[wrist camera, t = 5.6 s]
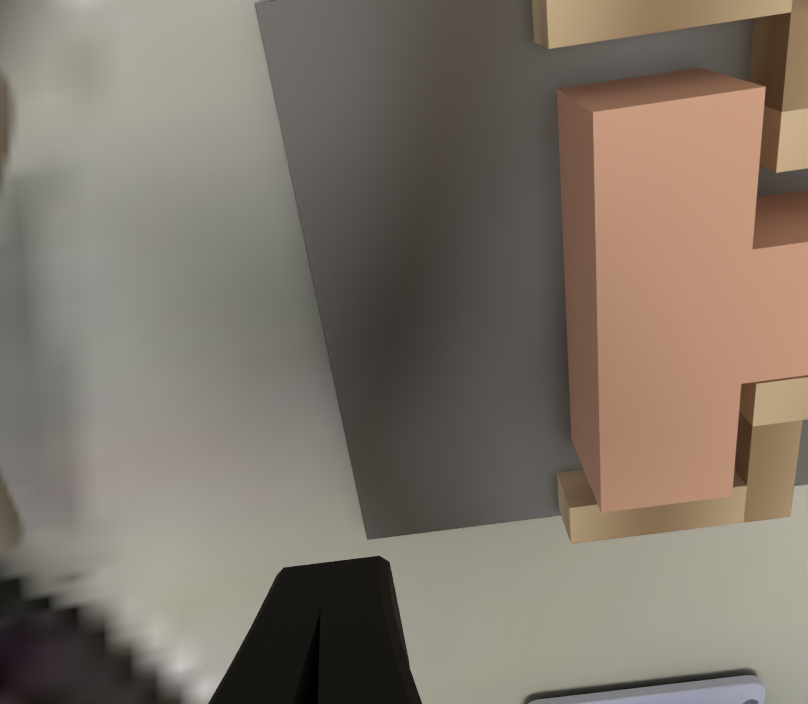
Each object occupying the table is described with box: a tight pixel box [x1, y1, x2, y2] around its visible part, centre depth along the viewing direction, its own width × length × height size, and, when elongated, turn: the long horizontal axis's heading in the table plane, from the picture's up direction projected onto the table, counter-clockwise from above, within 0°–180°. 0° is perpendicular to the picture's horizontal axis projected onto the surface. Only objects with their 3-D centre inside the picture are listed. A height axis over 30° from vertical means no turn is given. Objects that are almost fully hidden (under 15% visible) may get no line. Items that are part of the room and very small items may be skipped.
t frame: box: [255, 0, 808, 544], centre depth 17 cm, size 19×14×2 cm
